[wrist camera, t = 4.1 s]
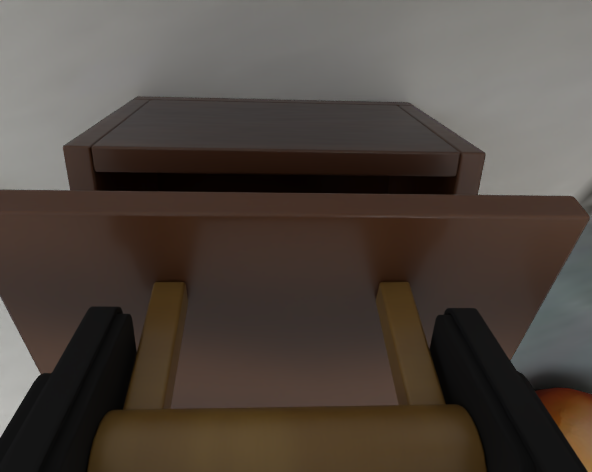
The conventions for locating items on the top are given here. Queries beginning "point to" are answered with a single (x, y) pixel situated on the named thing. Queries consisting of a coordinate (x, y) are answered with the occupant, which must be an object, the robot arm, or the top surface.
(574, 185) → the top surface
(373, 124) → the box
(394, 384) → the lid
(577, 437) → the fruit
